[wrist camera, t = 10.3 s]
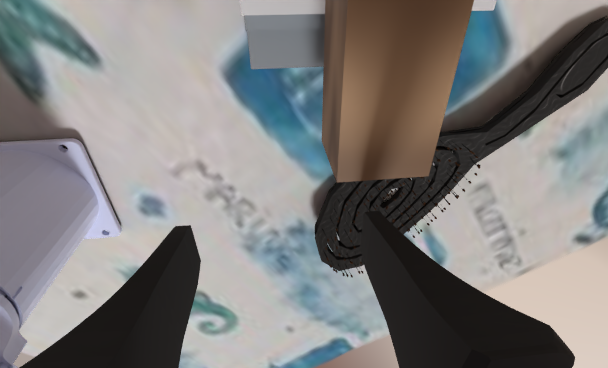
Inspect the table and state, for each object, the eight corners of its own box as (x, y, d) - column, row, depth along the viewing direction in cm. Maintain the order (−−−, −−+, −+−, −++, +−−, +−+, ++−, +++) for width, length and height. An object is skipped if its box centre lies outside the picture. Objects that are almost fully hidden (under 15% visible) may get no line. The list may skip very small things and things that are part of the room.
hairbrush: (676, 78, 19) (361, 296, 25) (616, 67, 22) (349, 263, 28) (660, -47, 15) (293, 249, 21) (589, -39, 18) (287, 217, 25)
